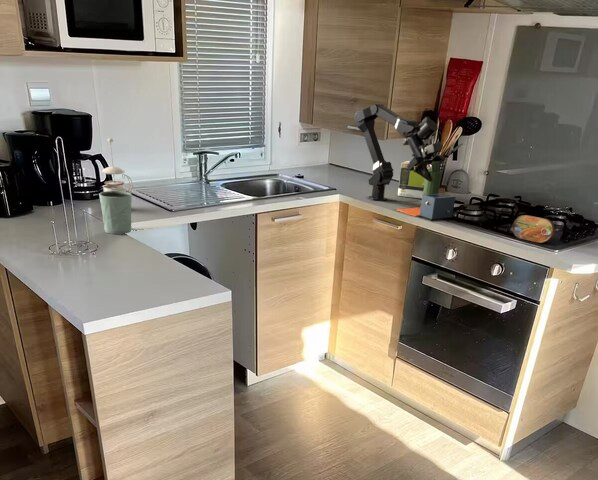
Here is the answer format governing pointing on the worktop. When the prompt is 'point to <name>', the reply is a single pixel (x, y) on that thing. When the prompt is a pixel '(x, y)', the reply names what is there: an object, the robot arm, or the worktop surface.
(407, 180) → the tea box
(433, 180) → the bottle
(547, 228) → the tin
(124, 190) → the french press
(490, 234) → the worktop surface
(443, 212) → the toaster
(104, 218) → the green cup
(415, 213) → the mat
